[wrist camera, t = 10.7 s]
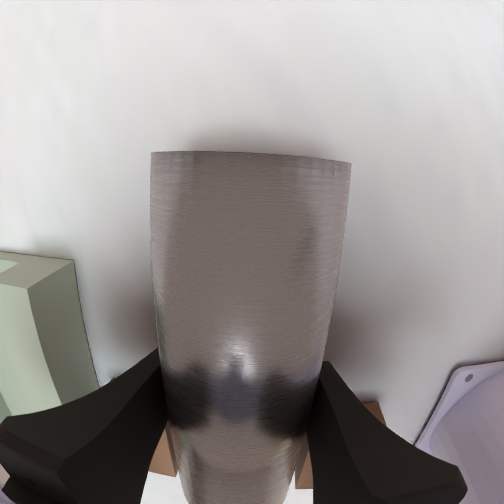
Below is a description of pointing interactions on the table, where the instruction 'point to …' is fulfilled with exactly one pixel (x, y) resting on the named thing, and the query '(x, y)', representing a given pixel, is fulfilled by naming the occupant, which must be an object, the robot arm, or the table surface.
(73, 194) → the table surface
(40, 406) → the pale green channelled slab
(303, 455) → the bearing block
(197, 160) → the axle
